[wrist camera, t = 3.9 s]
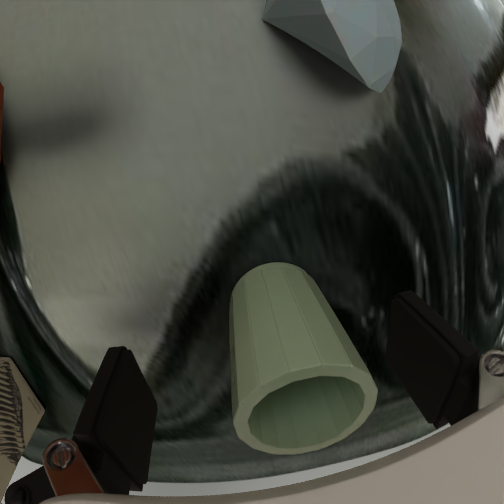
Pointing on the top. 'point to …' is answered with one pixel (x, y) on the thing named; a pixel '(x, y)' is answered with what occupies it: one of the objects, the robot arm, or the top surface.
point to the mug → (0, 107)
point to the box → (15, 419)
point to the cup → (292, 364)
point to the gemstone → (345, 33)
